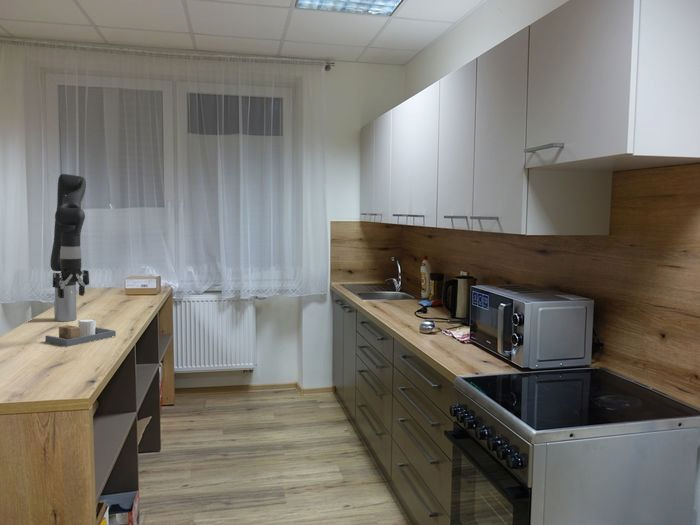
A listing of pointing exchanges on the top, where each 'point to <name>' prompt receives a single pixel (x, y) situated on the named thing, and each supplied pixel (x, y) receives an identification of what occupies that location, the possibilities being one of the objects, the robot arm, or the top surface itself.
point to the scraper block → (69, 332)
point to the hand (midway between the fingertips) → (71, 296)
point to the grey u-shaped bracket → (74, 341)
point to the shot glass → (87, 327)
